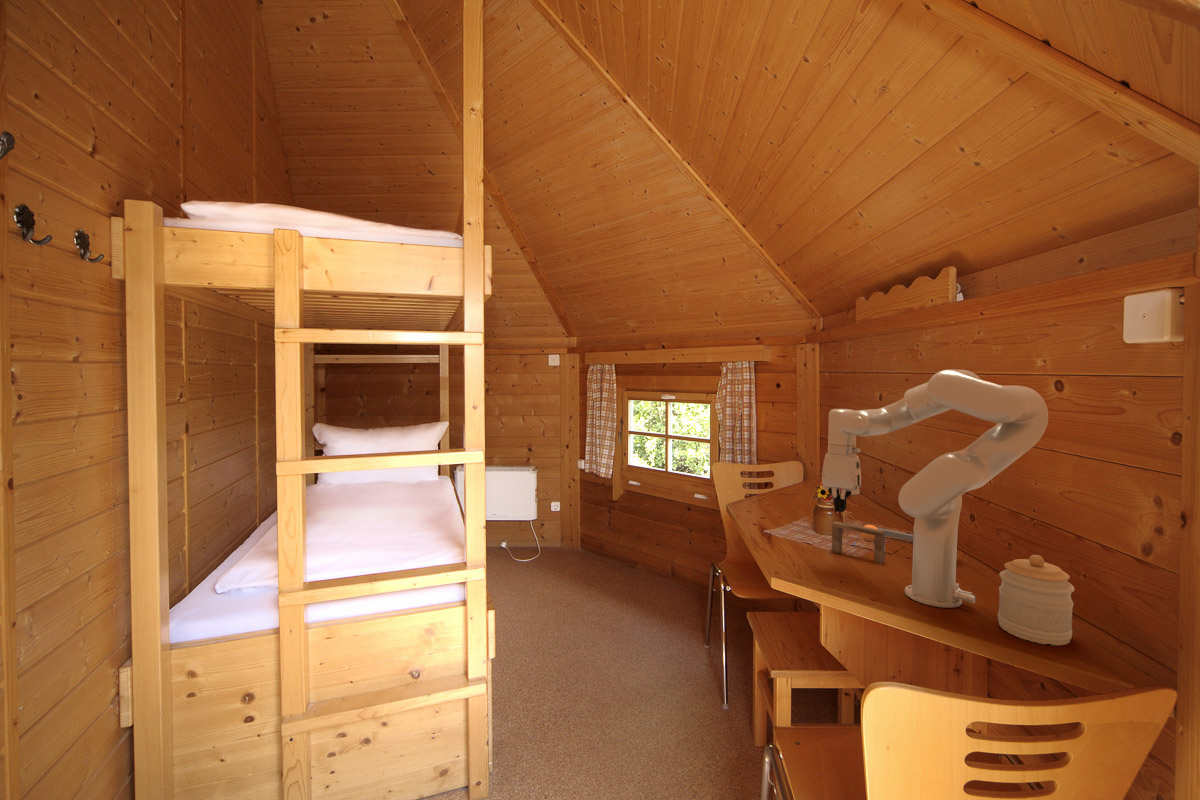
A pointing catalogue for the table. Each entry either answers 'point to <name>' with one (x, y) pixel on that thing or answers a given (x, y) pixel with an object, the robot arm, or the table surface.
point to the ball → (867, 536)
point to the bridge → (879, 534)
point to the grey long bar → (897, 534)
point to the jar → (1036, 601)
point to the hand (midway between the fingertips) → (839, 511)
